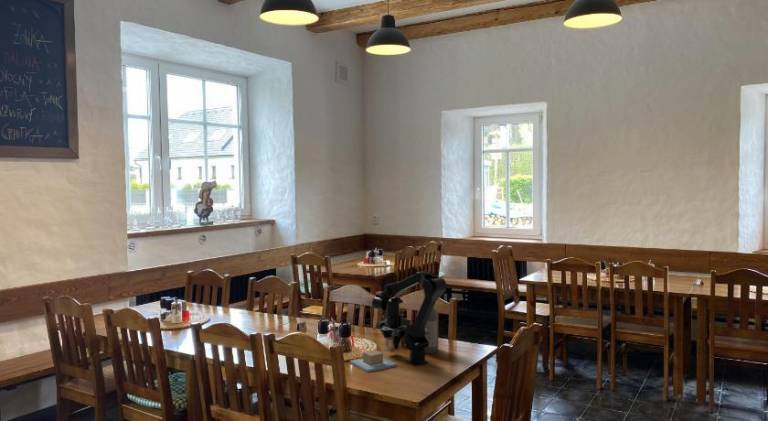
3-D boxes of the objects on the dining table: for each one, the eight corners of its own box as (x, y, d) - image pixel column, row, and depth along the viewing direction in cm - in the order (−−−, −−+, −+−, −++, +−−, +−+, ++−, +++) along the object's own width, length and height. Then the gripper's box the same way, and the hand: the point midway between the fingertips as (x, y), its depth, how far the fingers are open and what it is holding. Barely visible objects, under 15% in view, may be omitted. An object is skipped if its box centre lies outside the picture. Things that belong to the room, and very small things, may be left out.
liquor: (436, 353, 266) (436, 286, 264) (415, 352, 268) (415, 285, 266) (438, 347, 275) (438, 282, 273) (418, 346, 277) (418, 281, 275)
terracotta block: (400, 350, 263) (400, 339, 263) (391, 352, 260) (391, 340, 260) (394, 347, 267) (394, 336, 267) (385, 349, 265) (385, 338, 264)
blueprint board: (396, 366, 249) (396, 354, 249) (367, 372, 242) (367, 360, 241) (378, 357, 261) (378, 346, 261) (350, 363, 253) (349, 351, 253)
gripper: (420, 314, 259) (420, 349, 260) (396, 306, 275) (396, 339, 276) (399, 317, 253) (399, 354, 254) (375, 309, 269) (375, 343, 270)
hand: (392, 347), depth 264 cm, fingers closed on terracotta block, 5 cm apart
